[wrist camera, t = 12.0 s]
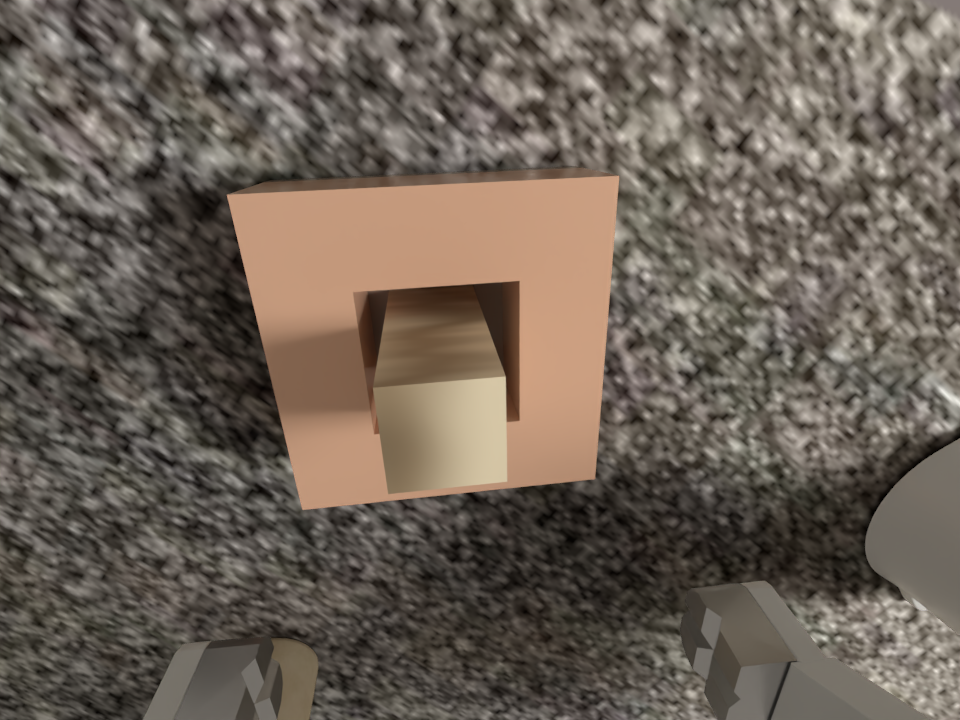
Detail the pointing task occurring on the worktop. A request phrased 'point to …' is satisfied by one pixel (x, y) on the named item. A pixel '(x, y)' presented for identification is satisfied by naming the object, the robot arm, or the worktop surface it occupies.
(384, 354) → the peg
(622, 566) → the worktop surface
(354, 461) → the well block
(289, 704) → the candle
